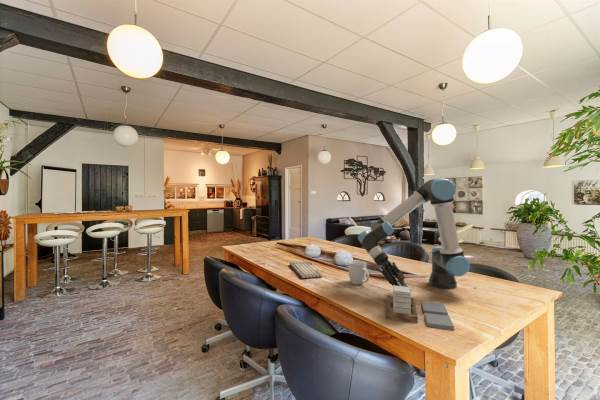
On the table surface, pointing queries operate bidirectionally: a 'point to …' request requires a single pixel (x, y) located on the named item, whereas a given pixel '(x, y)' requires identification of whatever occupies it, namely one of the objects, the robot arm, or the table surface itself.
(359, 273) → the mug
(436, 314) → the broken grey strip
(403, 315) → the brown base with post
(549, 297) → the table surface
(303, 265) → the mechanical keyboard
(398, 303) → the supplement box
